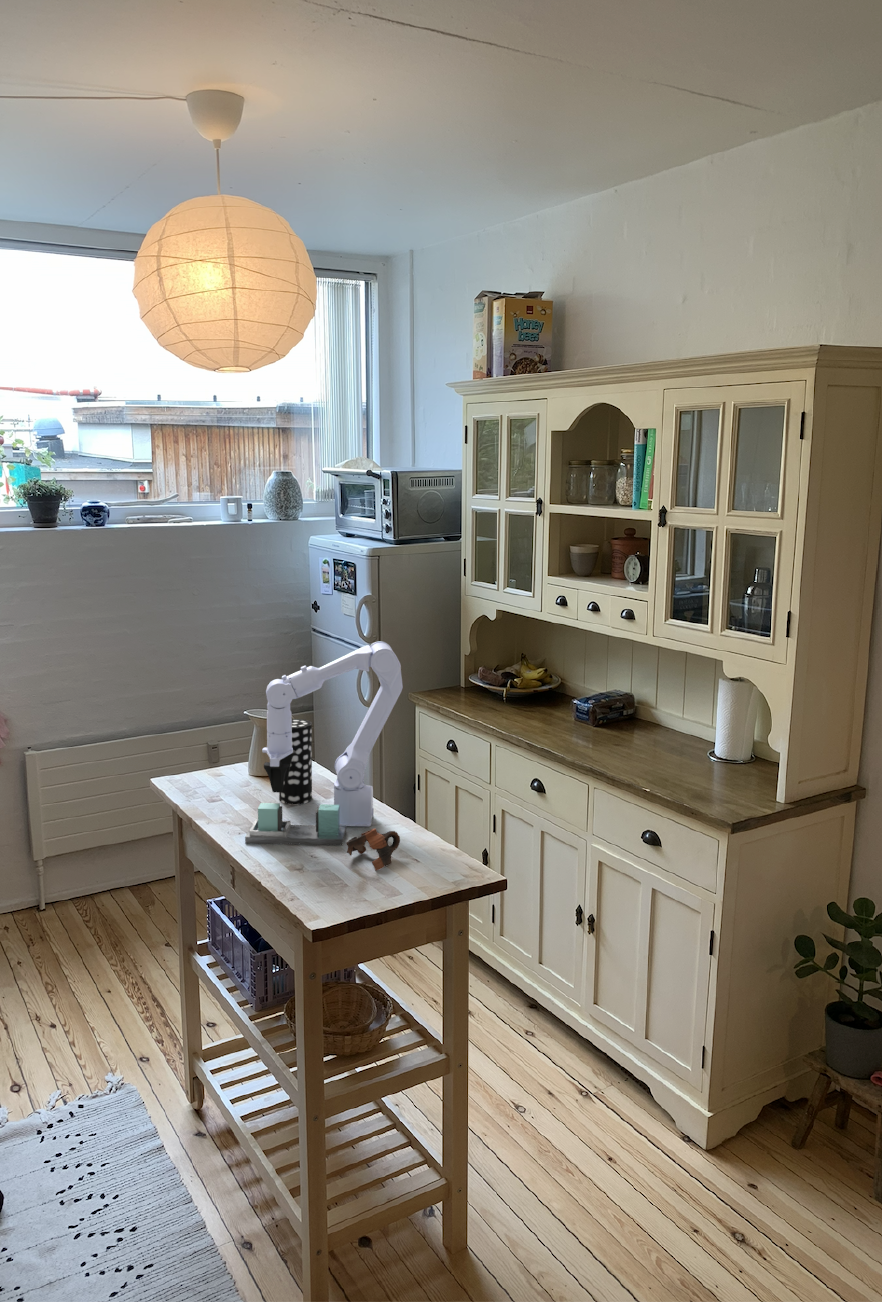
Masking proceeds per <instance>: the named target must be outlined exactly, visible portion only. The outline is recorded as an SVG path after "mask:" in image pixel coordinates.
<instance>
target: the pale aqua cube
mask: <svg viewBox="0 0 882 1302" xmlns="http://www.w3.org/2000/svg"><path fill="white" fill-rule="evenodd" d="M257 820H258V830H265V831H281V828H282V826H283V822H282V821H283V806H282V805H281V803H275V802H270V803H269V802H260V804H259V805H258V807H257Z"/></svg>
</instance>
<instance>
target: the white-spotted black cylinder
mask: <svg viewBox="0 0 882 1302" xmlns="http://www.w3.org/2000/svg"><path fill="white" fill-rule="evenodd" d="M312 724H313V723H312V721H310V720H307V719H302V718H292V748H293V750H295V754H294V756H293V758H292V761H291V765H290V770H289V776H288V780H287V781H284V785H283V790H282V792H281V793H279V792H278V800H279V802H281V804H285V805H290V804H298V805H303V804H304V805H305V804H307V803H309V802H311V801H312V800H313V764H312V763H313V751H312V750H313V748H312V747H313V746H312V745H313V740H312V738H313V737H312V736H313V733H312V731H313V730H312V729H313V728H312Z"/></svg>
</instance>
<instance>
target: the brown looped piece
mask: <svg viewBox="0 0 882 1302" xmlns="http://www.w3.org/2000/svg"><path fill="white" fill-rule="evenodd" d="M391 838H392V843H391V845H389V840H390V839H391ZM400 842H401V837H400V835H399V834H398V832H397V831H395V830H389V831H387V832H385V833H380V832H378V831H377V828H374V827H373V828H371V829H369V830H367V831H365V832H363V833H361V834H360V836H355V837H353V838H350V839H349V840H348V841H346V842H345V845H346V846H347V849H346V854H348V855H349V856H352V855H353V852H356V851H357V852H358V854H360V855H363V854H364V853H365V852H367V848H366V846H365V844H366V843H368V846H369V847H370V849H371V850H376V852H377V855H378V858H376V859H374V860H373V861H372V862H371V864H372V865H373V868H374V870H375V871H379V870H382V869H383V868H385V867H387V866H390V865H391V864H392V855H393V853H394V852H395V850H397V849H398V847H399V845H400V844H401V843H400Z"/></svg>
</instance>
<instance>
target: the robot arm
mask: <svg viewBox="0 0 882 1302" xmlns="http://www.w3.org/2000/svg"><path fill="white" fill-rule="evenodd" d="M370 668H371V669H372V671H373V672H374V673H375V675H376V676H377V678H378V681H379V683H380V686H379V688H378V690H377V692H376V695H375V696H374V698H373V699H372V702H371V704H370V706H369V708H368V709H367V711H366V713H365V716H364V718H363V720H362V722H361V724H360V726H359V727H358V729H357V732H356V733H355V736H354V737H353V739H352V741H351V743H350V744H349V745H348V746H347V747H346V749H345V750H344V752H343V753H342V754H340V755H339V756H337V758H336V759H335V762H334V770H335V772H336V778H337V779H336V780H335V781H334V783H333V805H340V826H346V827H368V828H370V827H371V826H372V821H373V816H374V812H375V810H374V807H373V806H374V803H373V802H374V788H373V786H372V785H367V784H365V782H364V779H365V770H366V768H367V766H368V763H369V758H370V753H371V752H372V750H373V748H374V746H375V744H376V741H377V739H378V738H379V736H380V734H381V732H382V730H383V728H384V726H385V725H386V722H387V720H388V718H389V716H390V715H391V713H392V711H393V708H394V707H395V705H396V703H397V701H398V699H399V697H400V695H401V693H402V691H403V678H402V670H401V669H402V666H401V662H400V661H399V658H398V656H397V655H396V653H395V652H394V651H393V648H392V647H391V645H390V644H388V643H387V642H385V641H375V642H372V643H371V644H370V645H369V644H367V645H363V646H361V647H360V648H357V649H356V650H353V651H351V652H348V653H347V654H346V655H343V656H340V657H339V658H337V659H335V660H333V661H331V662H328V663H327V664H325V665H324V664H323V666H320V667H316V666H313V665H309V666H307V665H302V666H300V670H298V671H295V672H294V673H291V674H289V675H286V674H283V675H282V676H281V679H280V678H276V679H273V680H271V681H270V682H269V684H267V686H266V690H265V695H266V701H267V704H266V709H267V711H266V740H267V741H266V747H263V748H262V750H261V752H262V753H264V754H267V756H268V758H269V762H267V761H265V762H264V764H263V769H264V771H265V773H266V774H267V776H268V778H269V779H268V780H269V782H270V783H269V784H270V787H271V791H272V793H278V794H279V793H281V792H282V790H283V785H284V781H287V780H288V776H289V770H290V765H291V761H292V758H293V756H294V754H295V750H293V748H292V719H293V718H292V715H293V714H292V710H291V703H292V701H293V700H297V699H300V698H302V697H304V696H306V695H309V694H311V693H313V692H315V691H317V690H320V689H322V687H323V684H324V682H325V681H328V680H330V679H333V678H335V677H338V676H341V675H343V674H346V673H348V672H351V671H353V670H360V671H364V672H370Z"/></svg>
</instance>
